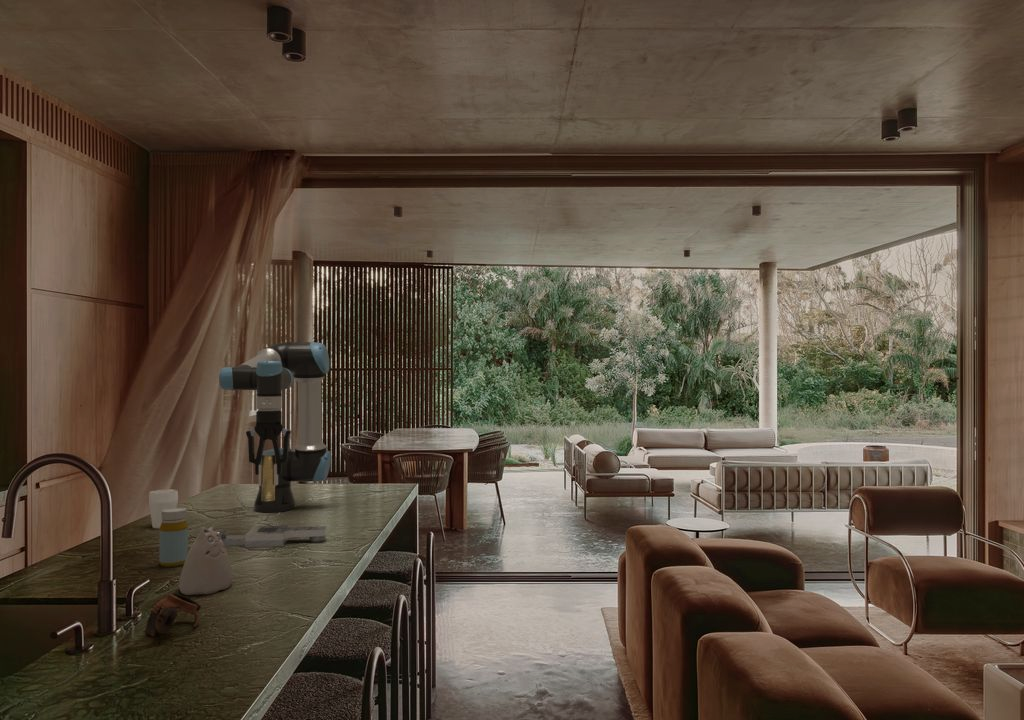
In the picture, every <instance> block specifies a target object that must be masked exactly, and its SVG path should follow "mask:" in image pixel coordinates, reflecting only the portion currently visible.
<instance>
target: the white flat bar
mask: <svg viewBox="0 0 1024 720" xmlns="http://www.w3.org/2000/svg"><path fill="white" fill-rule="evenodd" d="M327 529H328V528H327V526H326V525H324V526H322V525H321V526H320V525H317V526H290V524H288V525H284V524H282V525H253V527H251V528H250V529H249V530H248V531H247V532H246V533H245V534H241V535H239V534H235V535H233V534H232V535H227V530H226V529H221V528H220V529H215V530H216V531H217V532H218V534H219V535H220V537H221V539H222V541H223V543H224V546H225V547H232V546H233V547H235V546H244V547H245V548H246V549H248V548H275V547H278V548H279V547H284V546H285V545H286V543H287V542H288V540H289V539H290V538H304V537H305V538H308V541H309V543H312V544H319V543H324V542H326V539H327V538H326V537H327V532H328V531H327Z"/></svg>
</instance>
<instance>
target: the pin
mask: <svg viewBox="0 0 1024 720" xmlns="http://www.w3.org/2000/svg"><path fill="white" fill-rule="evenodd" d="M274 464H275V455H272V454H270V455H262V495H261V501H274V500H275V486H274Z"/></svg>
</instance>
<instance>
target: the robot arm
mask: <svg viewBox="0 0 1024 720" xmlns="http://www.w3.org/2000/svg"><path fill="white" fill-rule="evenodd" d="M329 371H330V357H329V352H328V349H327V346H326V345H325V344H324V343H322V342H313V341H309V342H308V341H307V342H306V341H304V342H295V341H294V342H290V341H289V342H287V341H285V342H284V341H283V342H279V343H275V344H273V345H269V346H266V347H265V348H263V349H260V350H259V351H258V352H257V353H256V355H255V356H254V357H252V358H250V359H249V360H246V361H245V362H243V363H241V364H240V365H237V366H229V367H222V368H221V369H220V371H219V375H218V382H219V386H220V389H222V390H224V391H256V401H255V402H256V406H255V407H256V408H255V409H257V411H256V412H255V413H256V415H255V416H256V417H255V418H256V419H255V420H256V421H255V426H254V428H252V429H248V430H247V431H246V432H245V435H246V436H247V441H248V461H249V463H251V464H254V467H255V471H254V473H255V475H257V476H258V491H257V494H256V498H255V501H254V503H253V511H255V512H258V513H278V512H280V513H281V512H285V511H291V510H293V509H295V508H296V500H295V496H294V495H293V492H292V487H291V485H292V484H291V482H313V483H314V482H324V481H325V480H326V479H327V477H328V475H329V472H330V469H331V463H332V452H331V451H330V450H327V446H326V444H325V443H324V442H323V423H322V422H323V419H322V417H323V416H322V381H323V380H324V379H325V377H326V374H327V373H329ZM294 380H295V381H296V382H297V405H298V406H297V407H298V413H297V414H298V444H297V445H296V446H295V448H294V451H293V450H292V448H291V447H290V445H289V443H290V436H291V434H292V430H290V429H286V428H284V426H283V423H282V420H283V419H282V416H283V415H282V413H283V412H282V410H281V409H282V408H283V407H282V406H283V396H282V395H283V394H282V393H283V391H284V390H287V389H288V388H290V387H291V386H292V384H293V383H294ZM281 433H282V435H283V445H282V447H280V443H279V436H280V435H281ZM256 434H257V436H258V437H259V440H258V447H257V451H256V455H255V437H254V436H255V435H256ZM268 440H269V441H271V443H272V446H273V447H272V449H268V450H267V449H266V450H264V448H265V445H266V444H265V443H266V441H268ZM270 454H272V455H275V464H274V486H275V500H274V501H261V495H262V455H270Z"/></svg>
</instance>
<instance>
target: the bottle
mask: <svg viewBox="0 0 1024 720" xmlns="http://www.w3.org/2000/svg"><path fill="white" fill-rule="evenodd" d="M188 542H189V524H188V522H187V508H186V507H177V508H169V509H164V510H162V523H161V526H160V529H159V559H158V560H159V565H160V566H161V567H162V568H163V567H164V568H175V567H180V566H184V563H185V560H186V557H187V554H188V552H189V549H188V548H189V546H188V545H189V543H188Z"/></svg>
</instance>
